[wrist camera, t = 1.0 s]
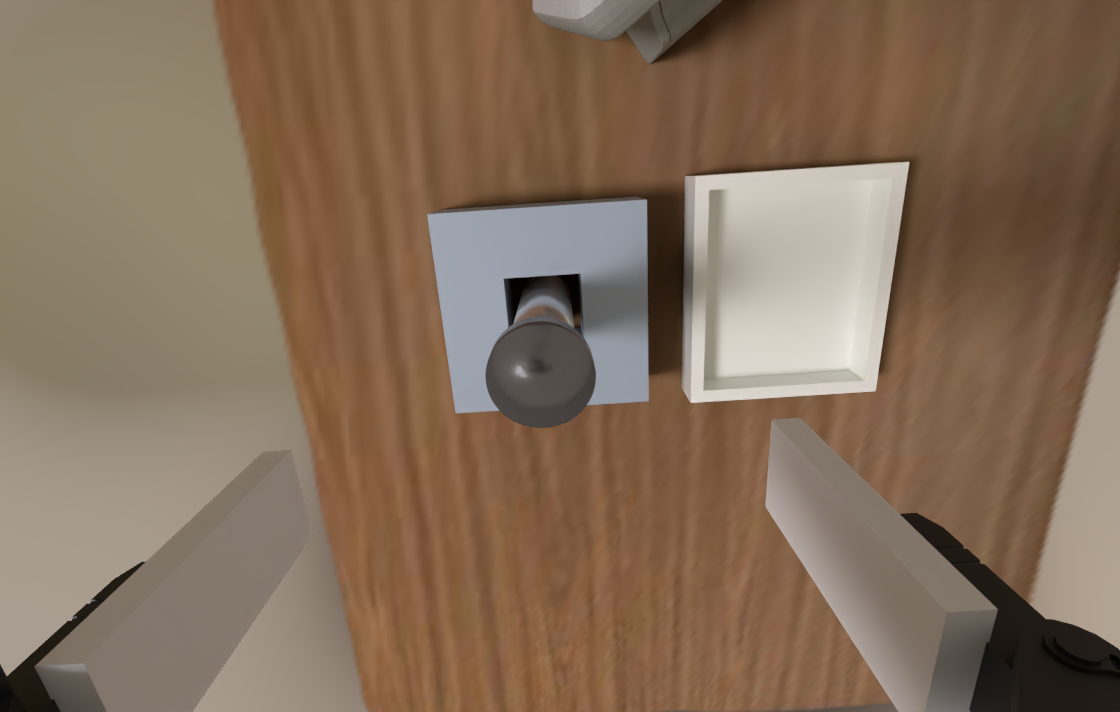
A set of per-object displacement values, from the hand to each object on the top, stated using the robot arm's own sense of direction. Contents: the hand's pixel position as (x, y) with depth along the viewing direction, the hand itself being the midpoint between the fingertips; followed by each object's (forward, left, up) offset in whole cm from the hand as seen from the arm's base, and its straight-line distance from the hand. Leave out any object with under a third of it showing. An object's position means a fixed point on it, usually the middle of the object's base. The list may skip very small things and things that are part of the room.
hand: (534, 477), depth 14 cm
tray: (0, +15, -21) cm, 26 cm away
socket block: (0, 0, -21) cm, 21 cm away
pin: (0, 0, -21) cm, 21 cm away
